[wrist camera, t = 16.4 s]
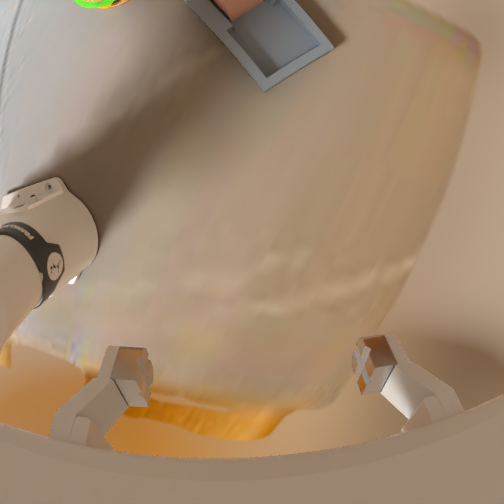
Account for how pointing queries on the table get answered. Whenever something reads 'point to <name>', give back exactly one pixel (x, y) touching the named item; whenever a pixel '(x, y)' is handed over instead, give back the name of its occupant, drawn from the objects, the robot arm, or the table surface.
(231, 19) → the post
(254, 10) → the slot board
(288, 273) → the table surface
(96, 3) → the hamburger
